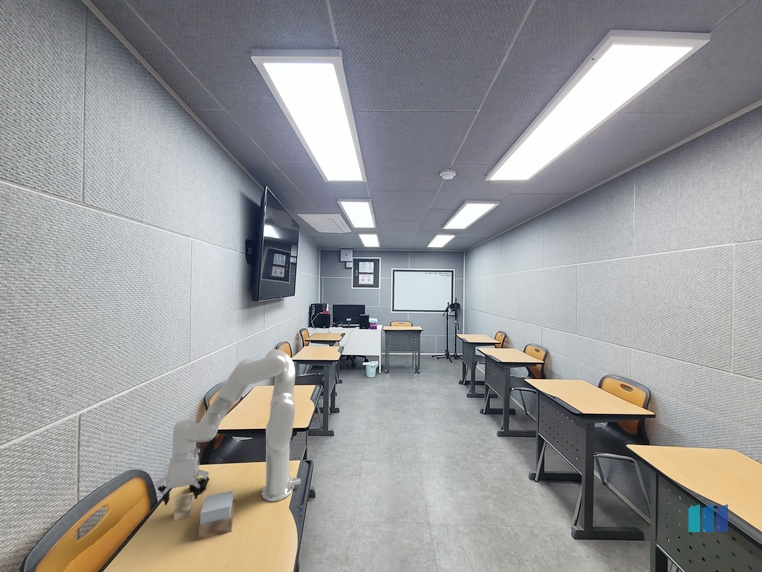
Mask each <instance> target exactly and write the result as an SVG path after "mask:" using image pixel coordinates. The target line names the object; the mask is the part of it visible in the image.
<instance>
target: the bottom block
mask: <svg viewBox="0 0 762 572" xmlns="http://www.w3.org/2000/svg"><path fill="white" fill-rule="evenodd" d="M235 503H236V502H235V499H233V502H232V508H231V513H230V518H226V519H222V520H218V521H214V522H210V523H206V524H202V525H200V524H199V525H198V541H202V540H203V541H204V540H205V539H210V538H215V537H216V536H217V537H218V536H220V535H221V536H222V535H224V534H228V533H231V532H232V531H233V524H234V517H235V505H236V504H235Z"/></svg>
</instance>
